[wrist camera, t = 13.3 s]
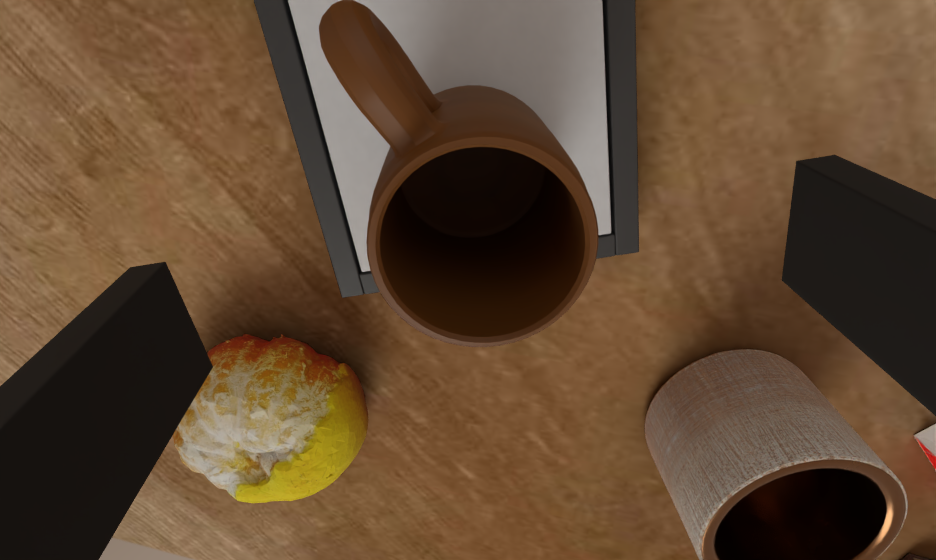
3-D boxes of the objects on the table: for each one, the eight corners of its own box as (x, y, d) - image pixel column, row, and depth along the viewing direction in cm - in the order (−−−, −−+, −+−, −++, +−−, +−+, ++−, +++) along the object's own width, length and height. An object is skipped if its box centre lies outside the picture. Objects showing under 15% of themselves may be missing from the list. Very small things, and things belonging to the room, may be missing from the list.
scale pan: (294, -6, 24) (285, -6, 23) (591, -58, 23) (600, -61, 22) (365, 259, 30) (361, 273, 28) (604, 222, 29) (611, 233, 28)
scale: (255, -43, 25) (232, -46, 22) (619, -108, 24) (640, -120, 22) (347, 277, 32) (338, 303, 30) (627, 233, 32) (644, 256, 29)
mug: (289, 54, 24) (203, 91, 15) (441, -59, 22) (438, -88, 14) (447, 269, 28) (448, 387, 20) (582, 190, 27) (644, 282, 18)
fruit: (327, 291, 32) (319, 411, 26) (389, 391, 39) (394, 502, 34) (145, 342, 33) (100, 469, 27) (239, 431, 40) (219, 546, 34)
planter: (775, 313, 34) (883, 421, 26) (824, 427, 39) (930, 551, 30) (613, 392, 37) (664, 515, 28) (677, 491, 41) (737, 623, 33)
